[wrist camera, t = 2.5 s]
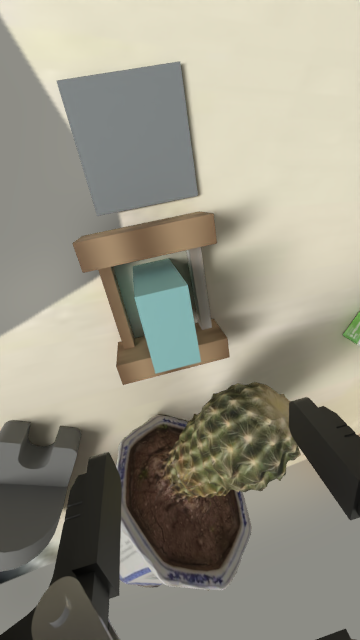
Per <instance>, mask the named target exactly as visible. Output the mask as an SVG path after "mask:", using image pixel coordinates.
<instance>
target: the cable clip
mask: <svg viewBox="0 0 360 640" xmlns="http://www.w3.org/2000/svg"><path fill="white" fill-rule="evenodd" d="M30 423H31V422H23V421H15V420H12V421H8V422H6V423H5V424H4V426H3V428H2V429H1V431H0V572H1V571H7V570H12V569H15V568H18V567H20V566H22V565H24V564H27V563H28V562H30V561H31V560H32V559H34V558H35V557H36V556H38V555H39V554H40V553H41V552H42V551H43V549H44V548H45V547H46V546H47V545H48V544H49V542H50V540H51V539H52V537H53V535H54V533H55V531H56V528H57V525H58V522H59V519H60V515H61V512H62V509H63V505H64V501H65V496H66V491H67V487H68V483H69V480H70V477H71V474H72V470H73V467H74V464H75V460H76V457H77V453H78V448H79V443H80V438H81V431H80V430H79V429H77V428H74V427H65V426H60V427H59V431H58V434H57V437H56V440H55V442H54V443H53V444H52V445H49V446H45V447H39V446H35V445H33V444H32V443H30V442H29V440H28V433H29V428H30Z"/></svg>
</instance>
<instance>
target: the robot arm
mask: <svg viewBox="0 0 360 640" xmlns="http://www.w3.org/2000/svg"><path fill="white" fill-rule="evenodd" d="M289 429H290V432H291V435H292V437H293V439H294V440H295V442H296V443H297V445H298V446H299V448H300V449H301V450H302V452H303V453H304V455H305V456H306V458H307V459H308V461H309V462H310V463H311V464H312V466H313V468H314V469H315V471H316V472H317V473H318V475H319V476H320V478H321V479H322V481H323V482H324V484H325V485H326V486H327V488H328V489H329V491H330V492H331V494H332V495H333V496H334V498H335V499H336V501H337V502H338V504H339V505H340V506H341V508H342V509H343V511H344V512H345V514H346V515H347V516H348V518H349V519H350V520H353V519H356V518H359V517H360V437H359V436H358V435H356V434H355V432H354V431H353V430H352V429H351V428H350V427H349V426H347V424H346V423H345V422H344V421H343V420H342V419H341V418H340V417H339V416H338V415H337V414H336V413H335V412H333V411H331V410H329V409H328V408H326V407H324V406H322V407H319V408H318V407H317V406H316V405H315V404H314V403H313V402H312V401H311V400H310V399H309V398H307V397H305V398H302V399H298V400H295V401H291V402H290V403H289ZM121 499H122V486H121V479H120V475H119V472H118V470H117V468H116V466H115V464H114V461H113V459H112V457H111V455H110V453H109V452H107V453H104V454H100V455H97V456H93V457H90V459H89V462H88V468H87V473H86V474H82V475H79V476H78V477H77V479H76V481H75V483H74V485H73V487H72V488H71V490H70V495H69V500H68V505H67V506H68V508H67V510H66V515H65V522H64V525H63V530H62V535H61V540H60V545H59V549H58V554H57V559H56V564H55V570H54V574H53V578H52V581H51V583H50V586H49V588H48V589H47V590H46V591H45V593H44V594H43V596H42V597H41V599H40V601H39V602H38V605H37V606H36V607H35V608H34V609H33V610H32V611H31V612H30V613H29V614H28V615H27V616H25V617H24V618H23V619H21V620H20V621H19V622H17V623H16V624H15V625H13V626H12V627H11V628H9V629H8V630H7V631H5V632H4V633H3V634H1V635H0V640H120V638H119V637H118V634H117V633H116V631H115V629H114V627H113V626H112V624H111V622H110V621H109V619H108V612H109V599H110V598H113V597H116V596H119V580H120V540H121ZM317 640H355V639H351V638H350V636H349V634H348V632H347V630H346V629H344V630H341V631H338V632H335V633H333V634H330V635H327V636H325V637H322V638H319V639H317Z"/></svg>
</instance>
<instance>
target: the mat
mask: <svg viewBox="0 0 360 640" xmlns="http://www.w3.org/2000/svg"><path fill="white" fill-rule="evenodd" d="M57 84H58V87H59V91H60V94H61V97H62V101H63V104H64V107H65V111H66V114H67V117H68V121H69V124H70V127H71V131H72V134H73V137H74V140H75V144H76V147H77V150H78V154H79V157H80V160H81V164H82V167H83V170H84V174H85V177H86V180H87V184H88V187H89V190H90V193H91V197H92V200H93V204H94V207H95V210H96V213H97V216H99V215H105V214H110V213H115V212H120V211H124V210H129V209H134V208H139V207H144V206H149V205H154V204H159V203H164V202H169V201H174V200H179V199H184V198H189V197H194V196H198V192H197V184H196V177H195V169H194V162H193V154H192V147H191V139H190V132H189V124H188V117H187V109H186V102H185V94H184V86H183V79H182V71H181V64H180V62H173V63H167V64H161V65H154V66H148V67H141V68H135V69H129V70H122V71H116V72H109V73H103V74H96V75H90V76H84V77H77V78H71V79H64V80H58V81H57Z"/></svg>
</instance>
